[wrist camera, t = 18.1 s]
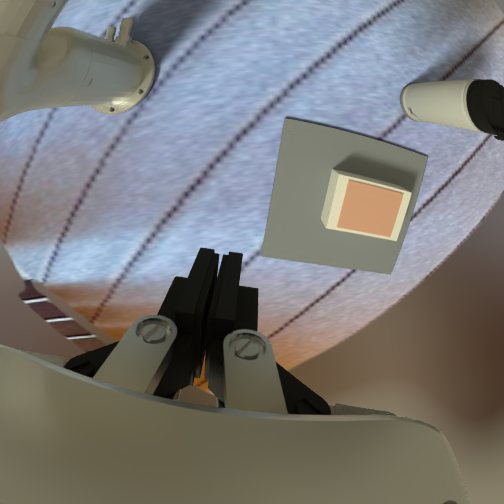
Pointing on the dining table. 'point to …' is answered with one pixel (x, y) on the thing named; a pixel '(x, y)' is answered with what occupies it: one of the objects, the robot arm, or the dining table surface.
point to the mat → (315, 189)
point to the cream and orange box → (364, 205)
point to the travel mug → (457, 104)
